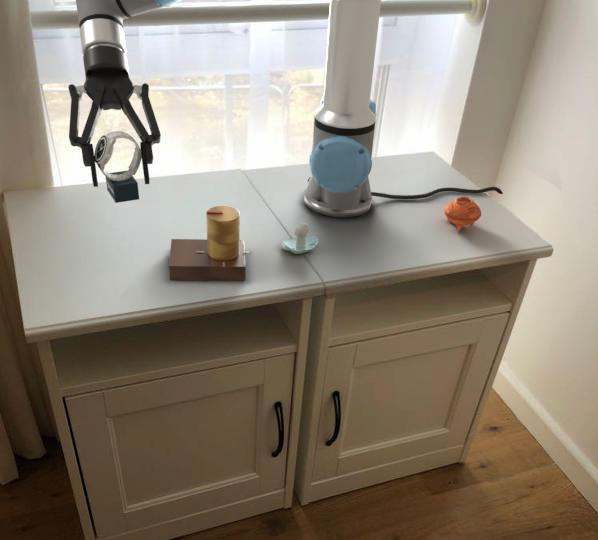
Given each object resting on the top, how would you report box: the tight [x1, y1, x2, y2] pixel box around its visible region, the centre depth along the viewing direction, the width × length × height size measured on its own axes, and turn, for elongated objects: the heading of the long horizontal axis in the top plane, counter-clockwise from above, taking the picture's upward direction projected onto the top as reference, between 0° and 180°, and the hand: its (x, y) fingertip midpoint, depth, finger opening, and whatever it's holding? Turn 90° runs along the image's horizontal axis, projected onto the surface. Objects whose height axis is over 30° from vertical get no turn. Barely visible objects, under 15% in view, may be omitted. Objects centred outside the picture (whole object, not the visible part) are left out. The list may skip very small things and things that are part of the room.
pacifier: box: [280, 222, 319, 255], centre depth 132 cm, size 7×6×6 cm
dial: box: [206, 205, 241, 261], centre depth 122 cm, size 6×6×8 cm
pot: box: [443, 196, 482, 233], centre depth 144 cm, size 8×8×7 cm
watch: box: [94, 131, 142, 204], centre depth 117 cm, size 6×8×11 cm
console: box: [168, 238, 251, 282], centre depth 126 cm, size 15×10×3 cm
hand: (121, 182), depth 116 cm, fingers closed on watch, 8 cm apart
